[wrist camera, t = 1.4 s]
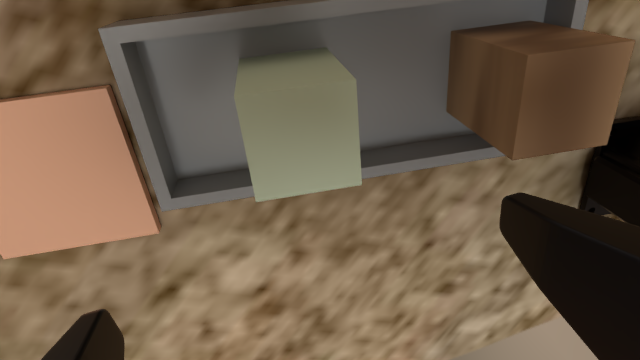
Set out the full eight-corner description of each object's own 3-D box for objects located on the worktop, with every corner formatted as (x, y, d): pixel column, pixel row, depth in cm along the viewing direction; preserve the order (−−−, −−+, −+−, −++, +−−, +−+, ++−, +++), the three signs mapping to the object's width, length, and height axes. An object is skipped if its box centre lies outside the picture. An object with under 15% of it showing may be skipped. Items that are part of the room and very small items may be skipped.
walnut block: (530, 20, 19) (635, 40, 14) (518, 100, 21) (606, 144, 16) (451, 30, 19) (528, 55, 14) (446, 111, 21) (512, 160, 15)
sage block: (326, 47, 18) (356, 79, 13) (333, 128, 20) (361, 184, 15) (239, 58, 18) (234, 96, 13) (254, 140, 20) (256, 202, 15)
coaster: (110, 84, 18) (106, 88, 18) (161, 227, 22) (159, 233, 22) (-77, 109, 17) (-87, 114, 17) (9, 252, 21) (3, 259, 21)
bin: (555, -33, 19) (595, -33, 17) (528, 129, 23) (557, 147, 20) (117, 20, 17) (97, 28, 15) (171, 186, 21) (161, 211, 19)
